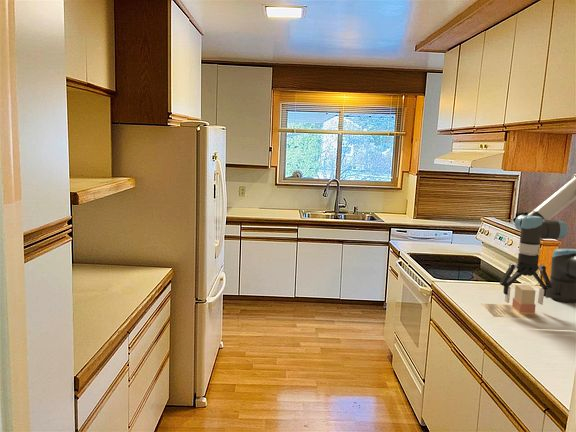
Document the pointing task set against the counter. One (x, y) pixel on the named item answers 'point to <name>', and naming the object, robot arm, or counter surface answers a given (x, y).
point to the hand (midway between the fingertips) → (523, 302)
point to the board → (506, 311)
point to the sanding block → (524, 299)
